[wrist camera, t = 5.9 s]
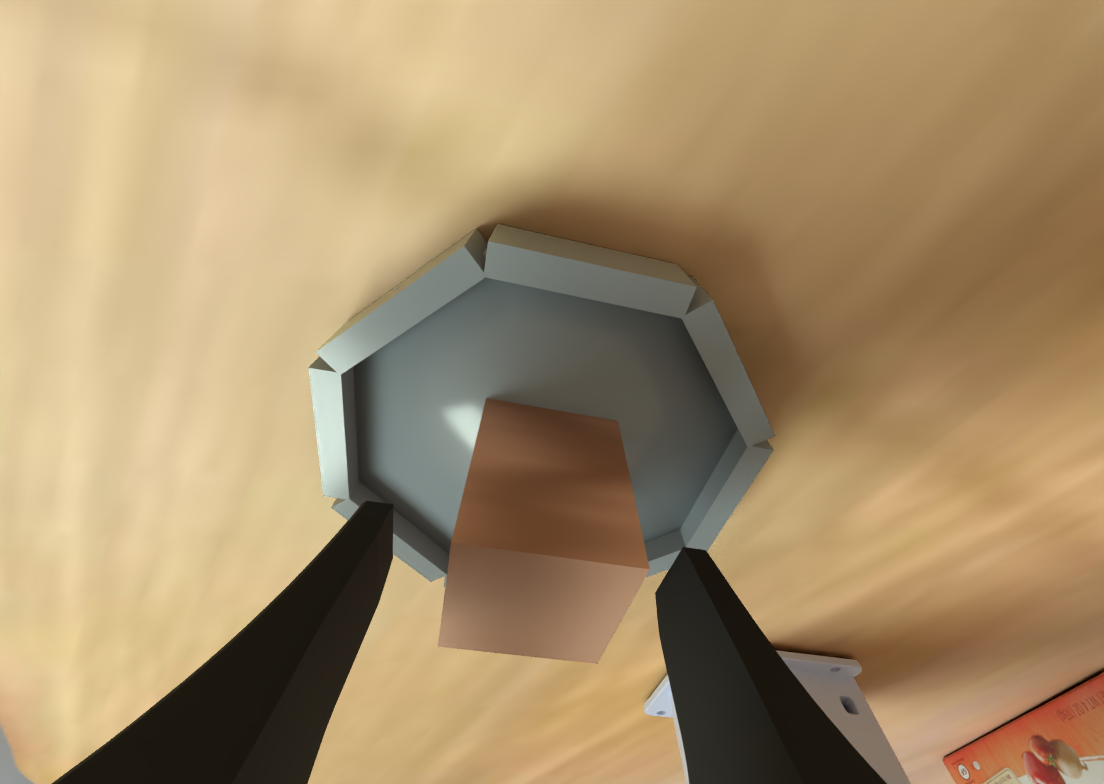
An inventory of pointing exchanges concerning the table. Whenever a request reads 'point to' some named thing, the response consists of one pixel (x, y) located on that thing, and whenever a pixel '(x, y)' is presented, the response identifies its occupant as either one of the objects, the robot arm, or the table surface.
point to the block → (543, 537)
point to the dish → (537, 386)
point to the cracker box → (1041, 744)
